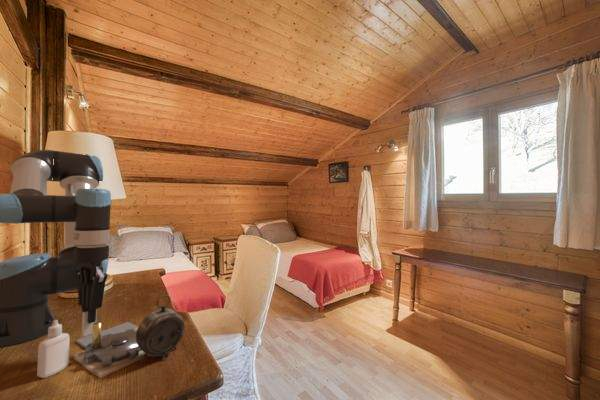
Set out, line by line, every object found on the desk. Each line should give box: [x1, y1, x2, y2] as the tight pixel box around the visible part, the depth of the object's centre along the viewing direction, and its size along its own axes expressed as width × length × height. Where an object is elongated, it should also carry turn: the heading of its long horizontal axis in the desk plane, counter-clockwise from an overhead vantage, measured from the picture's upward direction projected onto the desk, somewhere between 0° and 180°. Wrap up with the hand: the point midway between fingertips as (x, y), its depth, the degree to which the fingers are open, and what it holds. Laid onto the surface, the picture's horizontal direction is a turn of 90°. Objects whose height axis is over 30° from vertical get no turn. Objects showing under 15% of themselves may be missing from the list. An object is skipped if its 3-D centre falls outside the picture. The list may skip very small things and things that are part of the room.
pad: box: [75, 321, 139, 349], centre depth 79 cm, size 8×14×1 cm, turn 149°
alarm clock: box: [136, 294, 186, 363], centre depth 69 cm, size 11×5×16 cm, turn 139°
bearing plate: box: [72, 349, 149, 379], centre depth 70 cm, size 15×15×1 cm
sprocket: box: [84, 321, 142, 366], centre depth 70 cm, size 15×15×8 cm
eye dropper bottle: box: [36, 319, 71, 379], centre depth 62 cm, size 4×6×12 cm
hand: (88, 333), depth 70 cm, fingers closed
